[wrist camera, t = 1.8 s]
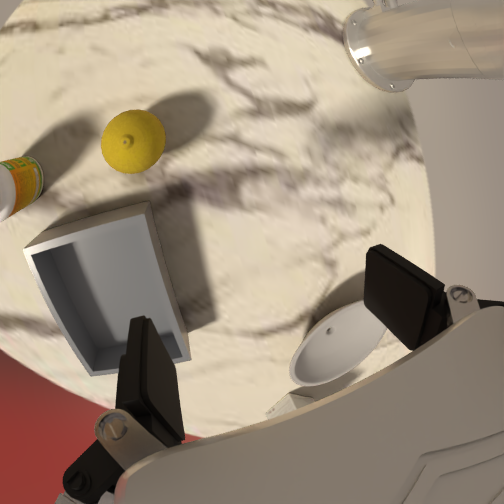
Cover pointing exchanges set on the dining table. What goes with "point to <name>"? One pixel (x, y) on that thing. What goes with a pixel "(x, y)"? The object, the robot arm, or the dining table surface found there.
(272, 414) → the supplement box
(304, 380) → the dish
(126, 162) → the lemon
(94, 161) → the dining table surface
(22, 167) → the supplement bottle
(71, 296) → the tote
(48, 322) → the dining table surface
